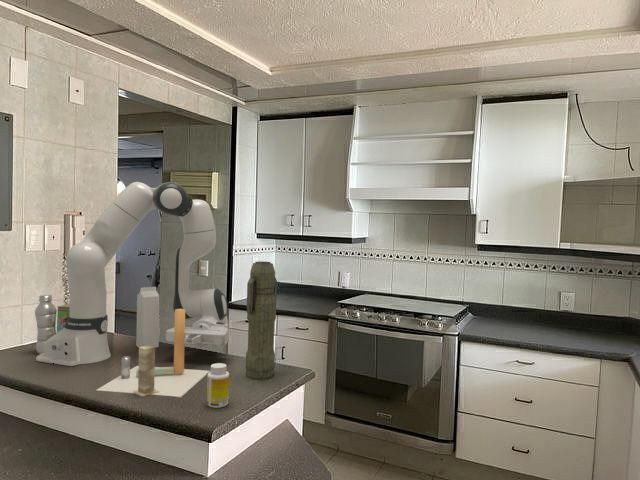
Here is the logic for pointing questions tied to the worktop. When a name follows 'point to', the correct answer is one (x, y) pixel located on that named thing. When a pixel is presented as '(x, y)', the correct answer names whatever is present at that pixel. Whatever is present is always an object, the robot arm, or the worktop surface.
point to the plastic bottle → (45, 321)
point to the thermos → (261, 321)
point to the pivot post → (125, 367)
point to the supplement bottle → (218, 386)
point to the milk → (147, 317)
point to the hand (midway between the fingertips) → (188, 341)
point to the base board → (159, 382)
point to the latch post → (146, 371)
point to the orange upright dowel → (176, 346)
